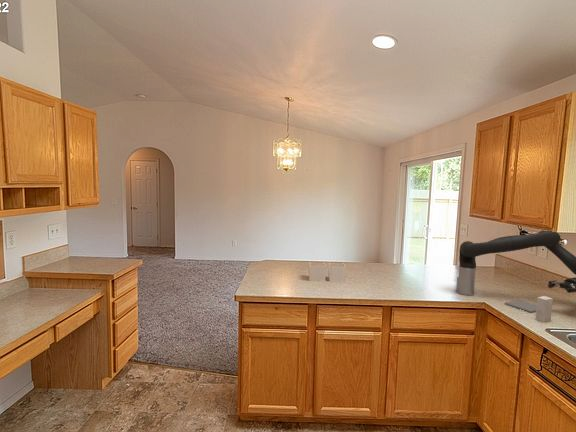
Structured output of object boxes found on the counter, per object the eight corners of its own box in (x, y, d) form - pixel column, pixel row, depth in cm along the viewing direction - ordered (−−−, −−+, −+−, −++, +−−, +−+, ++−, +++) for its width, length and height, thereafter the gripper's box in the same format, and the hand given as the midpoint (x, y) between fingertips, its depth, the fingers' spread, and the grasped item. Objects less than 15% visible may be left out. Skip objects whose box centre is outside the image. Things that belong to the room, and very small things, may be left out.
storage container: (309, 281, 227) (310, 265, 226) (309, 276, 238) (309, 262, 237) (345, 282, 226) (346, 266, 225) (343, 277, 237) (343, 263, 236)
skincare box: (541, 317, 171) (544, 295, 170) (550, 320, 167) (553, 298, 166) (534, 319, 169) (536, 297, 168) (543, 322, 165) (546, 299, 164)
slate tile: (504, 304, 190) (504, 302, 189) (519, 301, 195) (519, 299, 195) (530, 313, 177) (530, 311, 177) (545, 309, 183) (545, 307, 183)
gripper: (560, 274, 184) (543, 277, 177) (592, 281, 171) (575, 285, 164) (559, 287, 185) (542, 291, 178) (590, 295, 172) (574, 299, 165)
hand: (558, 288), depth 171 cm, fingers open, 8 cm apart
